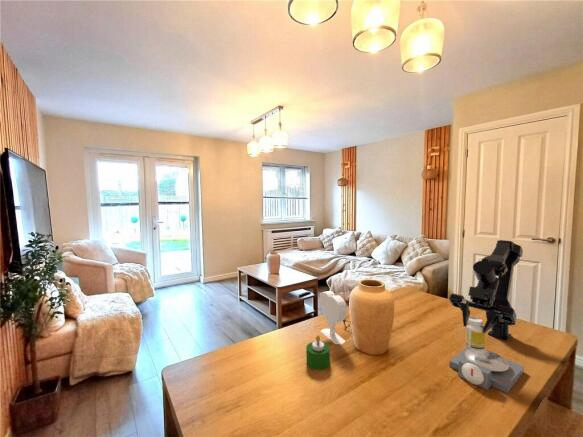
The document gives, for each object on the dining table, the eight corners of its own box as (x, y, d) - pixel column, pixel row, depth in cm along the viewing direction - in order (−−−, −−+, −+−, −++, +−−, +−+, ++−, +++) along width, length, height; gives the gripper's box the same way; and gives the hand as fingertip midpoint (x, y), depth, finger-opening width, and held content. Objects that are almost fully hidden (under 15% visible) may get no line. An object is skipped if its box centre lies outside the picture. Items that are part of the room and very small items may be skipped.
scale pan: (473, 346, 98) (473, 344, 98) (514, 362, 88) (514, 360, 88) (458, 358, 91) (458, 356, 91) (501, 377, 81) (501, 375, 81)
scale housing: (469, 350, 101) (469, 334, 101) (523, 371, 88) (524, 354, 88) (444, 370, 90) (444, 353, 89) (502, 398, 77) (503, 379, 76)
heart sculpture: (348, 343, 107) (348, 299, 106) (337, 346, 105) (337, 301, 104) (328, 326, 121) (327, 287, 120) (318, 329, 119) (317, 289, 118)
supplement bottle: (488, 349, 90) (489, 321, 89) (476, 352, 88) (477, 324, 88) (473, 341, 95) (474, 314, 94) (461, 344, 94) (462, 317, 93)
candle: (332, 358, 97) (332, 332, 97) (325, 372, 90) (325, 343, 89) (311, 353, 101) (311, 327, 100) (303, 366, 93) (302, 338, 93)
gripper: (451, 271, 100) (437, 309, 94) (515, 284, 85) (503, 328, 79) (459, 287, 105) (446, 323, 99) (521, 301, 90) (510, 344, 85)
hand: (473, 329), depth 90 cm, fingers closed on supplement bottle, 5 cm apart
